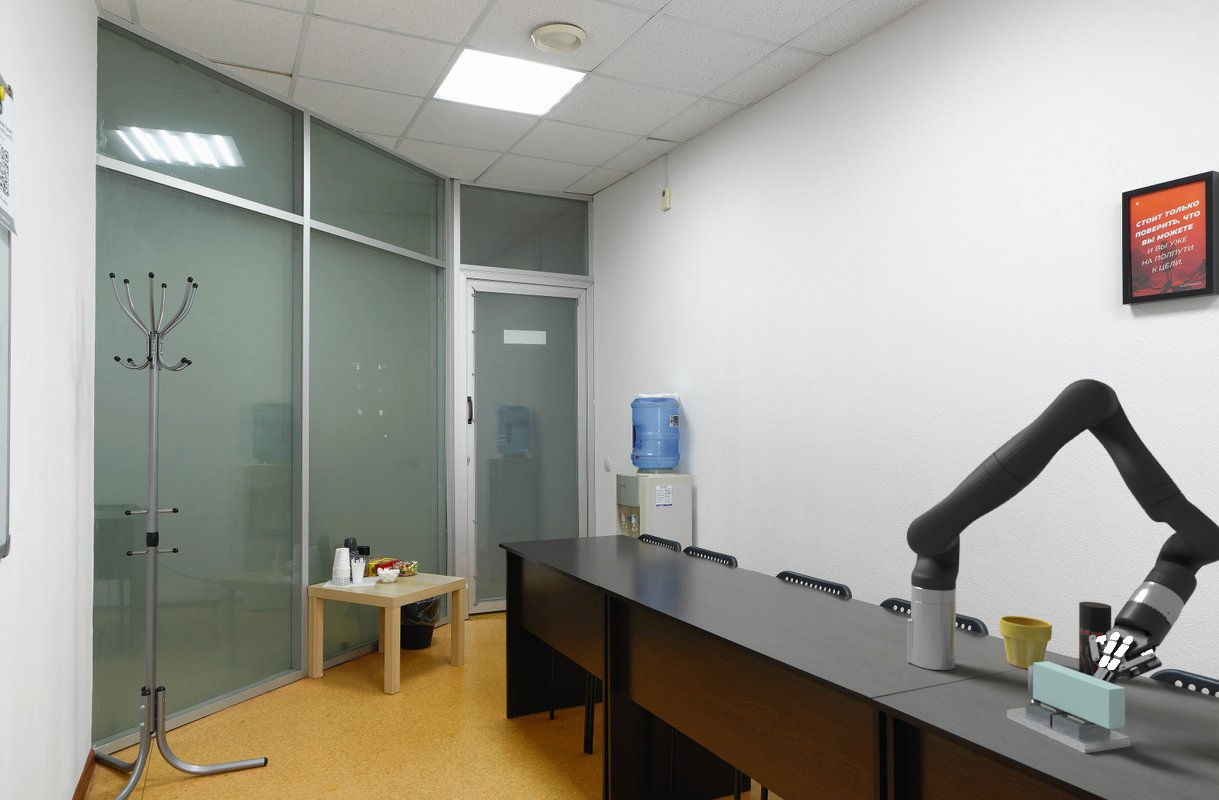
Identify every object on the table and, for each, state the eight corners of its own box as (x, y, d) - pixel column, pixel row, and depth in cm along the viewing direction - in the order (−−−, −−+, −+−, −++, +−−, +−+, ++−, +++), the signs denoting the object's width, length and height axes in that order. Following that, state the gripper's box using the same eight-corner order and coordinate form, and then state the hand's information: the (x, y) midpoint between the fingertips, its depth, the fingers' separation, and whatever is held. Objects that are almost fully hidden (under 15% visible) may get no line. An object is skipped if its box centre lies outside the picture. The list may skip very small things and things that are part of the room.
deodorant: (1099, 680, 167) (1099, 608, 168) (1072, 672, 173) (1072, 602, 173) (1117, 677, 170) (1117, 606, 170) (1091, 669, 175) (1091, 600, 176)
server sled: (1007, 717, 145) (1007, 697, 145) (1049, 712, 148) (1049, 692, 148) (1084, 753, 129) (1084, 730, 130) (1130, 746, 133) (1130, 724, 133)
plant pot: (1043, 660, 181) (1043, 617, 182) (1058, 673, 171) (1058, 628, 172) (994, 656, 184) (994, 613, 184) (1005, 669, 174) (1006, 624, 174)
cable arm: (1022, 693, 145) (1022, 659, 146) (1037, 692, 146) (1037, 657, 147) (1108, 729, 129) (1109, 689, 129) (1125, 726, 130) (1125, 687, 130)
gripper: (1104, 591, 147) (1053, 663, 143) (1175, 608, 135) (1121, 687, 131) (1125, 618, 149) (1075, 690, 145) (1197, 637, 136) (1145, 716, 132)
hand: (1097, 689), depth 138 cm, fingers closed
